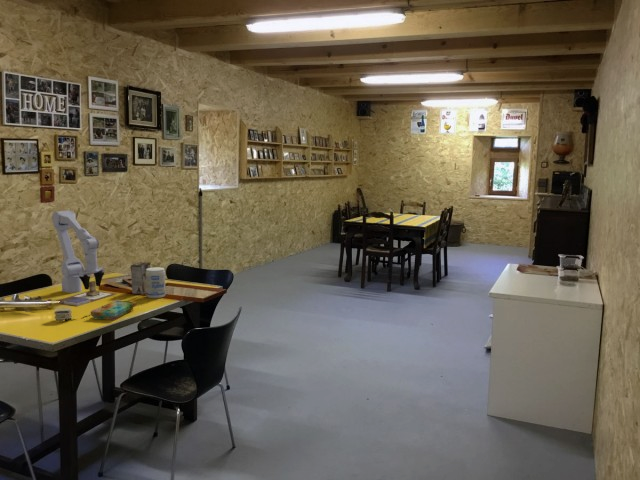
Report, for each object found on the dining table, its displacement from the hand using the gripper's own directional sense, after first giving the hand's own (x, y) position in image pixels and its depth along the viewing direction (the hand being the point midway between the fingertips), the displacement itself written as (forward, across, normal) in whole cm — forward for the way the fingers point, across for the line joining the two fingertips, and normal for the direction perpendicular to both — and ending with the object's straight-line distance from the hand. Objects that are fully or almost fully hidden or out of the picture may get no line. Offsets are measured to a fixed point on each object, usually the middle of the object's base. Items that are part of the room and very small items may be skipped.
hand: (92, 287), depth 279 cm
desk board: (+5, -6, 0) cm, 8 cm away
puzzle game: (+6, -19, -32) cm, 37 cm away
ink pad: (+4, -14, -4) cm, 15 cm away
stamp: (+4, 0, 0) cm, 4 cm away
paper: (+4, 0, 0) cm, 4 cm away
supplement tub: (+5, +15, -28) cm, 32 cm away
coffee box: (+5, +17, -17) cm, 25 cm away
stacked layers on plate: (+6, -36, -19) cm, 41 cm away
